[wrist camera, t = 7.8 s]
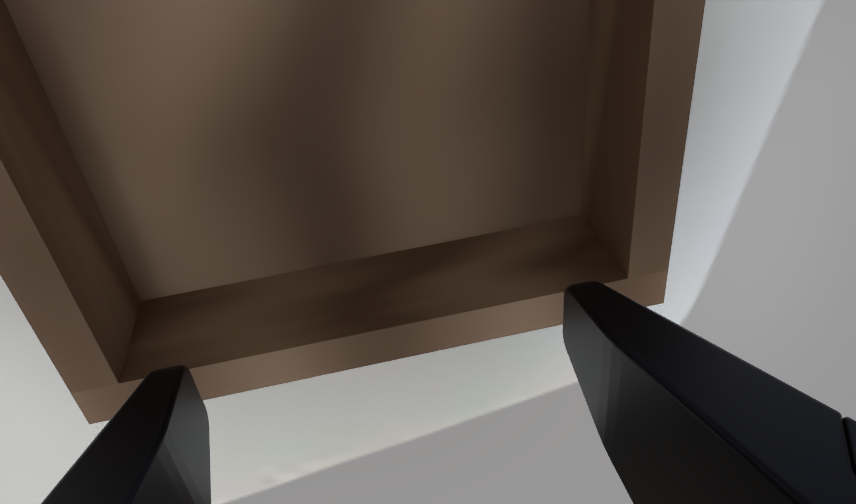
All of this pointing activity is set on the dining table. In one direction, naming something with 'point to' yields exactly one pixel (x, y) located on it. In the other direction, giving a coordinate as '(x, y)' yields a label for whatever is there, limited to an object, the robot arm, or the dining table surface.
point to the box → (328, 177)
